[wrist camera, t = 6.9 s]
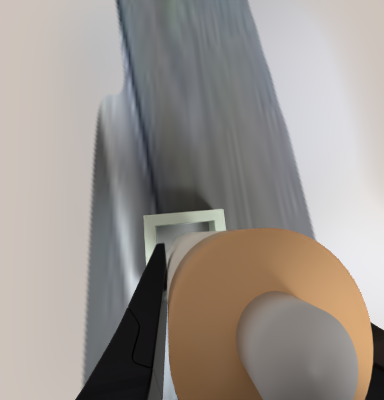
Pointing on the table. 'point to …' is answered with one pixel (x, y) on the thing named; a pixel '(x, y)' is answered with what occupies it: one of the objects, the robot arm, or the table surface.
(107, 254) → the table surface
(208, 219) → the frame
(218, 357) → the cell
